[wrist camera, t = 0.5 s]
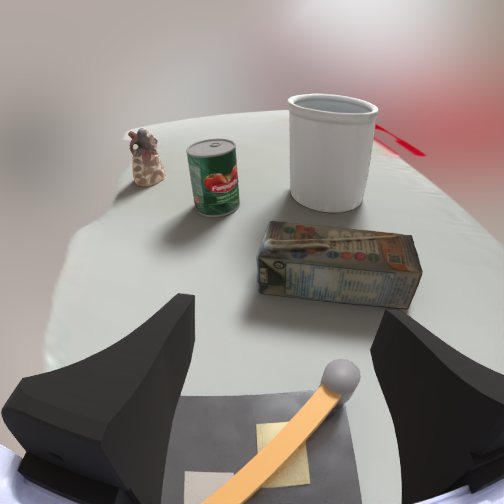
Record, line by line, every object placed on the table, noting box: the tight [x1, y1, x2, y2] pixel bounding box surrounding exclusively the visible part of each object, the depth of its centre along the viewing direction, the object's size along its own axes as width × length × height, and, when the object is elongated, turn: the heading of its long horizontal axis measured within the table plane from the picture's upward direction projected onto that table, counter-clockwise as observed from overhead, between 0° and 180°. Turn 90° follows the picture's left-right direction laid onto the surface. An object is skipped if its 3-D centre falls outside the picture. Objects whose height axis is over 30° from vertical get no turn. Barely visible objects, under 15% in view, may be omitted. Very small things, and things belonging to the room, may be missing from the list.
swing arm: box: [201, 359, 361, 504], centre depth 19 cm, size 18×3×3 cm, turn 137°
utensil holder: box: [288, 94, 378, 213], centre depth 49 cm, size 15×15×18 cm
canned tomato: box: [186, 139, 240, 217], centre depth 50 cm, size 8×8×11 cm
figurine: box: [128, 128, 166, 186], centre depth 60 cm, size 7×7×12 cm
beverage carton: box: [256, 221, 422, 309], centre depth 36 cm, size 8×19×7 cm, turn 77°
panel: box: [161, 389, 362, 504], centre depth 20 cm, size 15×21×2 cm
